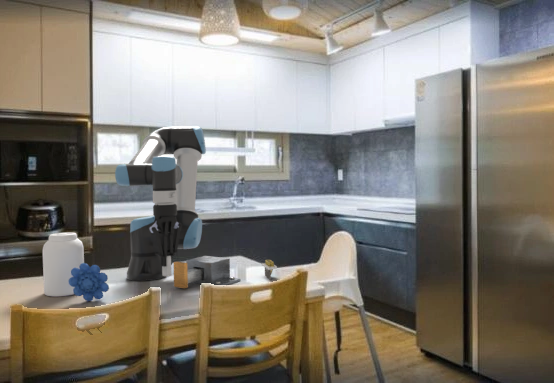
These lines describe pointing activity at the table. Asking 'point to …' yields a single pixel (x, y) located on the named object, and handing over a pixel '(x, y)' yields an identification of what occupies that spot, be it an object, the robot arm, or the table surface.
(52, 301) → the table surface
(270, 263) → the potted plant
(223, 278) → the bracket
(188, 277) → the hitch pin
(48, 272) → the white jar
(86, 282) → the blue rosette flower
